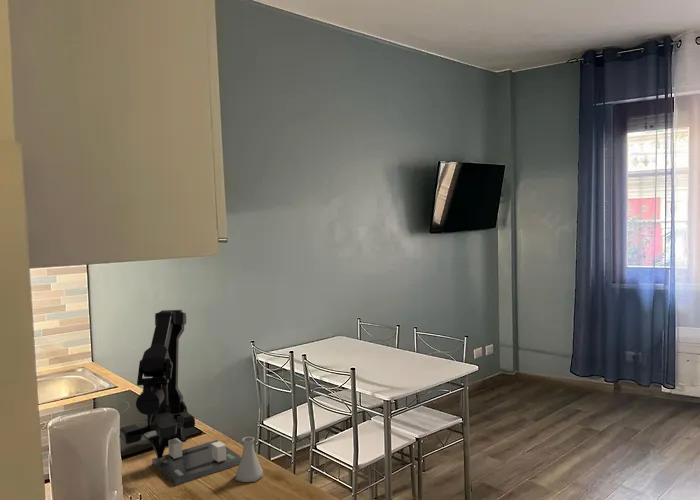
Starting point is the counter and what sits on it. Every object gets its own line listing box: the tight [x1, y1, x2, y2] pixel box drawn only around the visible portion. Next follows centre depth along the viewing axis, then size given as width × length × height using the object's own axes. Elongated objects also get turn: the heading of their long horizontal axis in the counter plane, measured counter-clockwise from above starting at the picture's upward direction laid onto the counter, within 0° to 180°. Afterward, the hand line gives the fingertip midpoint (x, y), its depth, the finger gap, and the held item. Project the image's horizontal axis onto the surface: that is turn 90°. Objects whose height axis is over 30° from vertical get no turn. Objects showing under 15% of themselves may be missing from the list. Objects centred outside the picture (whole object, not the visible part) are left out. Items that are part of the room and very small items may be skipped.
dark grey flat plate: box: [151, 439, 242, 486], centre depth 156 cm, size 16×19×2 cm
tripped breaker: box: [168, 438, 183, 459], centre depth 157 cm, size 4×2×4 cm, turn 39°
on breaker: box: [212, 440, 227, 462], centre depth 154 cm, size 4×2×4 cm, turn 39°
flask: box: [235, 436, 264, 483], centre depth 147 cm, size 7×7×10 cm
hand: (159, 457), depth 154 cm, fingers closed
